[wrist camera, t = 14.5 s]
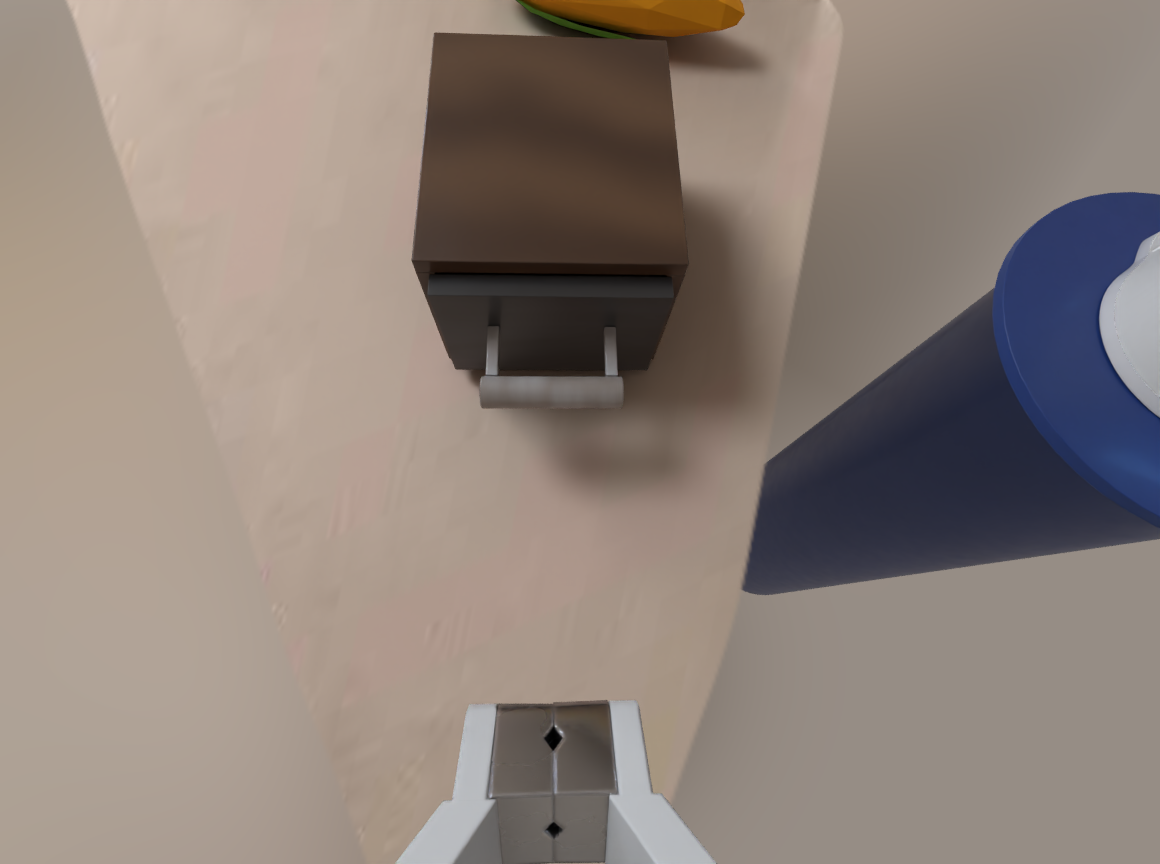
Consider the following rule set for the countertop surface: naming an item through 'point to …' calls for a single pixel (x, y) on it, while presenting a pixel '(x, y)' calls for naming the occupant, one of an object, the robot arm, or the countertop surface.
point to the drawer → (550, 332)
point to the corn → (641, 15)
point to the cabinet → (549, 160)
